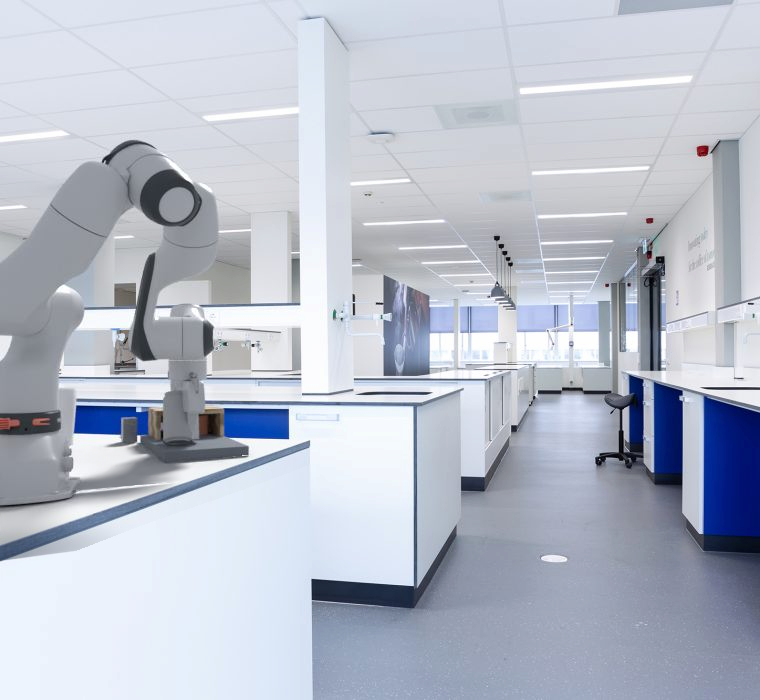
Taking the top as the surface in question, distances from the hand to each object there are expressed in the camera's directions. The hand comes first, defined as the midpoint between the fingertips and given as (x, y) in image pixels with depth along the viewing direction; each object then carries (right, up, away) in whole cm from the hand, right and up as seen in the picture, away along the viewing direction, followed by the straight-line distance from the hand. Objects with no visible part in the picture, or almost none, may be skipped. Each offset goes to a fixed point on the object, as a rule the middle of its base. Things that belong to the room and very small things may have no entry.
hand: (188, 430), depth 167 cm
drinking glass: (-36, -6, +13) cm, 38 cm away
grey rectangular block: (-3, -2, +8) cm, 9 cm away
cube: (-4, -3, +19) cm, 20 cm away
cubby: (-5, -3, +16) cm, 17 cm away
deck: (-1, -6, +6) cm, 9 cm away
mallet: (-23, -6, +22) cm, 32 cm away
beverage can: (-2, -3, -4) cm, 5 cm away
